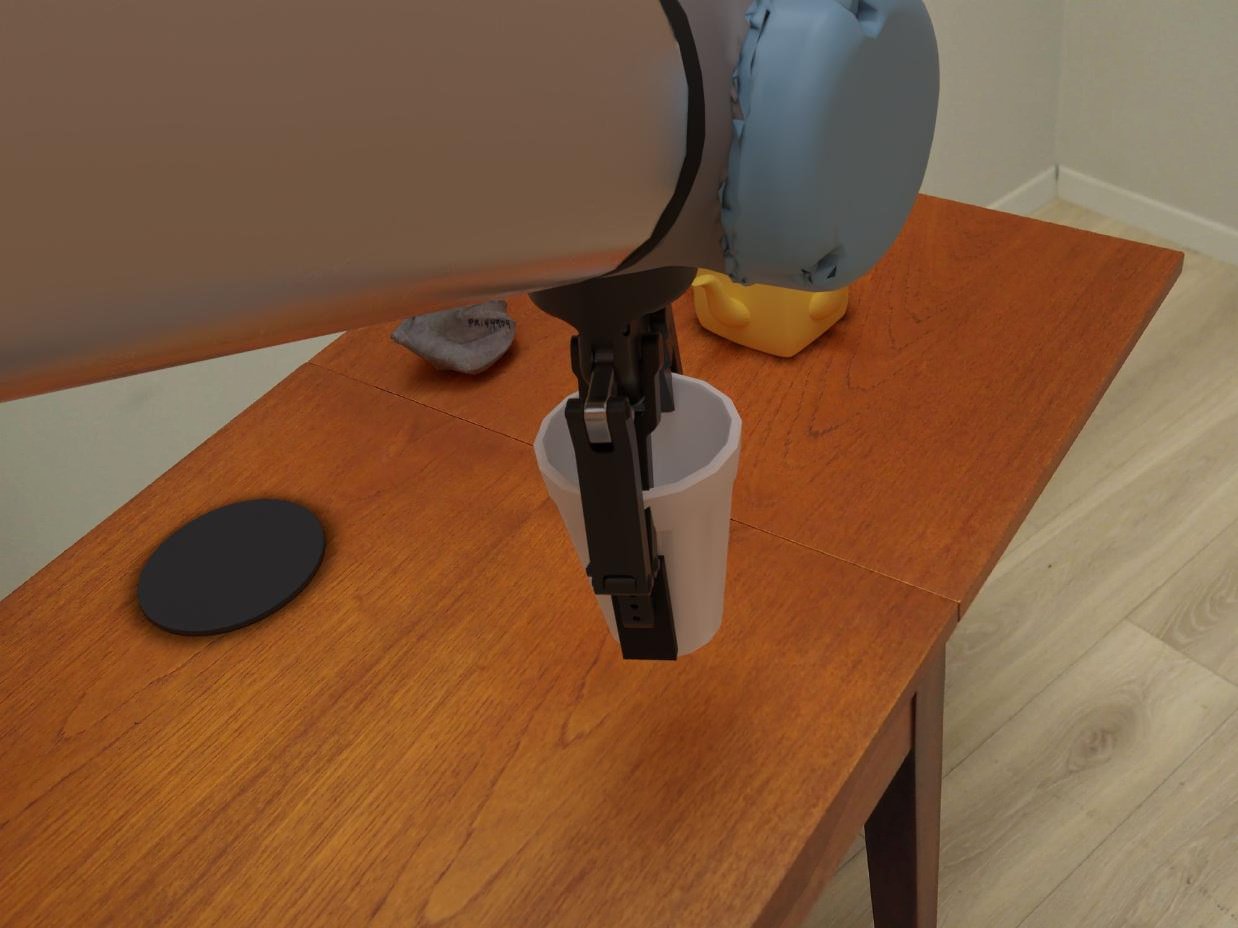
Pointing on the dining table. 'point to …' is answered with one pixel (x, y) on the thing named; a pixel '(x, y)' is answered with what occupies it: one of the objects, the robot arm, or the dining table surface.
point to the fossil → (459, 336)
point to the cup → (668, 501)
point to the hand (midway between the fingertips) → (661, 590)
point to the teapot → (765, 313)
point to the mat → (231, 567)
